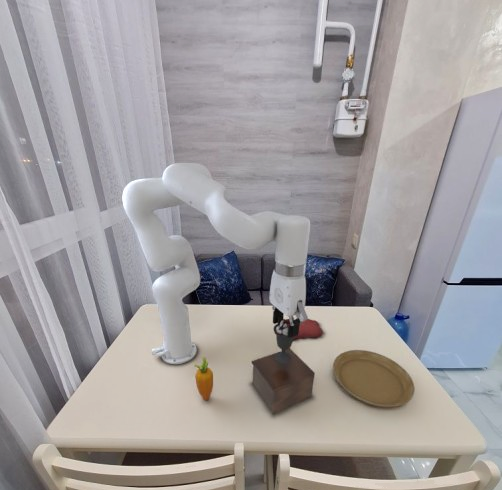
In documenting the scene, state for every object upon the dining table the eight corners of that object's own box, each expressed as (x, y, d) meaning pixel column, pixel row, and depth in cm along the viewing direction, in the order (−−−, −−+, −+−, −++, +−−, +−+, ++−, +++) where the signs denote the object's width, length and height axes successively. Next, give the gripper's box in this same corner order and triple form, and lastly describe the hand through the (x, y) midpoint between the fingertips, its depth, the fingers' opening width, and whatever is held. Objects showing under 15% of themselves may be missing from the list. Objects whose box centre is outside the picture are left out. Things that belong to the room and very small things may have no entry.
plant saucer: (431, 407, 77) (434, 399, 75) (354, 418, 73) (357, 410, 72) (381, 354, 98) (383, 346, 97) (320, 360, 95) (321, 353, 93)
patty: (285, 341, 105) (285, 337, 104) (277, 322, 117) (277, 318, 116) (327, 337, 107) (327, 333, 106) (314, 319, 119) (315, 315, 119)
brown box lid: (272, 392, 70) (273, 390, 70) (251, 363, 80) (251, 361, 80) (314, 375, 76) (315, 372, 76) (289, 349, 86) (289, 348, 86)
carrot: (207, 409, 75) (203, 369, 69) (194, 402, 78) (189, 362, 71) (218, 398, 79) (215, 358, 73) (205, 391, 81) (202, 352, 75)
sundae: (293, 367, 73) (299, 323, 66) (270, 363, 74) (273, 319, 67) (295, 351, 79) (300, 309, 72) (273, 348, 80) (276, 306, 73)
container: (273, 414, 74) (274, 391, 70) (252, 384, 84) (252, 362, 80) (311, 397, 80) (314, 375, 76) (287, 370, 90) (289, 350, 86)
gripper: (259, 259, 70) (257, 317, 77) (299, 283, 56) (292, 351, 63) (283, 255, 73) (279, 311, 80) (326, 277, 59) (316, 342, 67)
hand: (285, 328), depth 72 cm, fingers closed on sundae, 6 cm apart
